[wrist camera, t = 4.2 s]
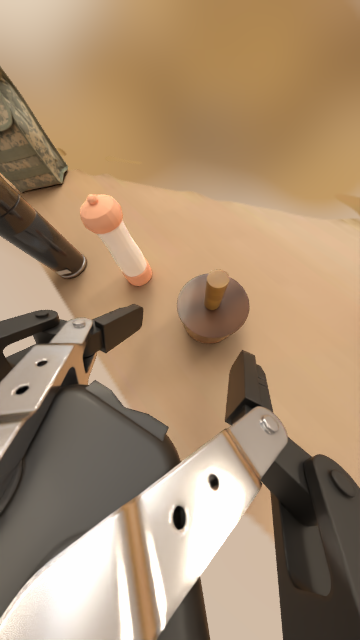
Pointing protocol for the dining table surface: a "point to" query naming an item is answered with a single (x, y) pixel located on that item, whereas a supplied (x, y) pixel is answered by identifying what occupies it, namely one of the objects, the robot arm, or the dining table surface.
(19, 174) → the lunch bag
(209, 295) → the lid
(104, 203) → the pepper shaker
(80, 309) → the dining table surface
